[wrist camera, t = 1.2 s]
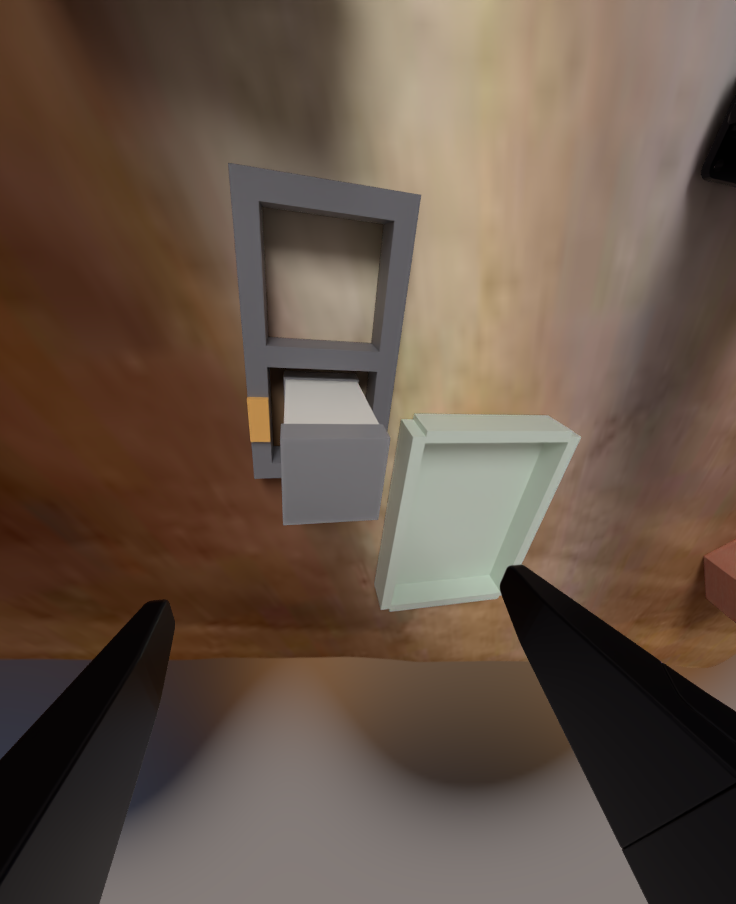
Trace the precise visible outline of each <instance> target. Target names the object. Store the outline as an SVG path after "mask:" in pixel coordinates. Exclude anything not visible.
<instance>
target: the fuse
mask: <svg viewBox="0 0 736 904" xmlns="http://www.w3.org/2000/svg"><path fill="white" fill-rule="evenodd" d="M389 445H390V436H389V435H388V433H387V431H386V429H385V427H384V425H383V424H379V423H378V421H377V419H376V417H375V415H374V413H373V411H372V410H371V408H370V406H369V404H368V402H367V400H366V398H365V396H364V394H363V392H362V390H361V388H360V386H359V379H358V377H357V375H356V373H335V372H309V371H284V424H281V434H280V447H281V476H282V505H283V525H296V524H313V523H330V522H347V521H364V520H378V518H379V511H380V504H381V498H382V491H383V484H384V478H385V471H386V464H387V458H388V451H389Z"/></svg>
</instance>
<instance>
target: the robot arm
mask: <svg viewBox="0 0 736 904" xmlns="http://www.w3.org/2000/svg"><path fill="white" fill-rule="evenodd" d="M714 166H715V167H714ZM701 177H702V179H704V180H707V181H711V182H716V183H720V184H725V185H729V186H734V187H736V95H735V97H734V100H733V102H732V104H731V106H730V108H729V110H728V112H727V115H726V117H725V119H724V121H723V123H722V125H721V128H720V130H719V132H718V134H717V136H716V138H715V141H714V143H713V145H712V147H711V149H710V151H709V154H708V156H707V158H706V160H705V162H704V164H703V167H702V170H701ZM500 592H501V595H502V597H503V600H504V603H505V605H506V608H507V610H508V613H509V615H510V618H511V621H512V623H513V626H514V628H515V631H516V634H517V636H518V639H519V641H520V643H521V646H522V648H523V650H524V652H525V654H526V656H527V658H528V660H529V662H530V664H531V666H532V668H533V670H534V672H535V674H536V676H537V678H538V680H539V683H540V685H541V687H542V689H543V691H544V693H545V695H546V697H547V699H548V701H549V703H550V705H551V707H552V709H553V711H554V713H555V715H556V717H557V719H558V721H559V723H560V725H561V727H562V729H563V731H564V733H565V735H566V737H567V739H568V741H569V743H570V745H571V747H572V749H573V751H574V753H575V755H576V758H577V759H578V762H579V764H580V766H581V767H582V770H583V772H584V774H585V775H586V778H587V780H588V782H589V784H590V786H591V788H592V790H593V792H594V794H595V796H596V798H597V800H598V802H599V804H600V806H601V808H602V810H603V812H604V814H605V816H606V818H607V820H608V822H609V824H610V826H611V828H612V831H613V832H614V835H615V837H616V839H617V841H618V843H619V845H620V847H621V848H622V851H623V853H624V855H625V857H626V859H627V861H628V863H629V865H630V867H631V870H632V872H633V874H634V876H635V878H636V880H637V882H638V884H639V886H640V888H641V890H642V892H643V894H644V896H645V898H646V900H647V902H648V904H736V712H735V711H734V710H733V709H731V708H730V707H728V706H727V705H725V704H723V703H722V702H720V701H719V700H717V699H716V698H714V697H712V696H711V695H710V694H708V693H706V692H705V691H704V690H702V689H701V688H699V687H698V686H696V685H695V684H693V683H692V682H690V681H689V680H687V679H686V678H684V677H683V676H682V675H680V674H679V673H677V672H676V671H674V670H673V669H671V668H670V667H669V666H667V665H666V664H664V663H661V661H660V660H658V659H657V658H656V657H654V656H653V655H651V654H650V653H648V652H647V651H646V650H644V649H643V648H641V647H640V646H638V645H637V644H636V643H634V642H633V641H631V640H630V639H628V638H627V637H626V636H624V635H623V634H621V633H620V632H618V631H617V630H616V629H614V628H613V627H611V626H610V625H608V624H607V623H606V622H604V621H603V620H601V619H600V618H598V617H597V616H596V615H594V614H593V613H591V612H590V611H588V610H587V609H586V608H584V607H583V606H581V605H580V604H578V603H577V602H575V601H574V600H573V599H571V598H570V597H568V596H567V595H565V594H564V593H563V592H561V591H560V590H558V589H557V588H555V587H554V586H553V585H551V584H550V583H548V582H547V581H545V580H544V579H543V578H541V577H540V576H538V575H537V574H535V573H534V572H533V571H531V570H530V569H528V568H527V567H525V566H524V565H510V566H508V567H507V569H506V571H505V573H504V575H503V578H502V580H501V582H500ZM174 630H175V620H174V616H173V613H172V610H171V607H170V603H169V601H168V600H165V599H163V600H153V601H149V602H147V603H146V604H144V605H143V607H142V608H141V609H140V610H139V611H138V612H137V613H136V614H135V615H134V616H133V617H132V618H131V619H130V621H129V622H128V623H127V624H126V625H125V626H124V627H123V628H122V629H121V630H120V631H119V632H118V633H117V635H116V636H115V637H114V638H113V639H112V640H111V641H110V642H109V643H108V644H107V645H106V646H105V647H104V649H103V650H102V651H101V652H100V653H99V654H98V655H97V656H96V657H95V658H94V659H93V660H92V661H91V663H90V664H89V665H88V666H87V667H86V668H85V669H84V670H83V671H82V672H81V673H80V674H79V675H78V677H77V678H76V679H75V680H74V681H73V682H72V683H71V684H70V685H69V686H68V687H67V688H66V690H65V691H64V692H63V693H62V694H61V695H60V696H59V697H58V698H57V699H56V700H55V702H54V703H53V704H52V705H51V706H50V707H49V708H48V709H47V710H46V711H45V712H44V714H42V715H41V717H40V718H39V719H38V720H37V721H36V722H35V723H34V724H33V725H32V726H31V727H30V728H29V729H28V731H27V732H26V733H25V734H24V735H23V736H22V737H21V738H20V739H19V740H18V741H17V743H16V744H14V746H13V747H12V748H11V749H10V750H9V751H8V752H7V753H6V754H5V755H4V756H3V757H2V758H1V760H0V904H99V903H100V899H101V896H102V893H103V890H104V887H105V883H106V880H107V877H108V873H109V870H110V867H111V863H112V860H113V857H114V854H115V850H116V847H117V844H118V840H119V837H120V834H121V831H122V827H123V824H124V821H125V817H126V814H127V811H128V807H129V804H130V801H131V798H132V794H133V791H134V788H135V785H136V781H137V778H138V775H139V771H140V768H141V765H142V761H143V758H144V755H145V751H146V748H147V745H148V742H149V738H150V735H151V732H152V729H153V725H154V721H155V719H156V715H157V712H158V708H159V705H160V701H161V696H162V691H163V686H164V681H165V676H166V671H167V666H168V661H169V656H170V651H171V645H172V640H173V635H174Z"/></svg>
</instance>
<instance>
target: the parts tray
mask: <svg viewBox="0 0 736 904" xmlns="http://www.w3.org/2000/svg"><path fill="white" fill-rule="evenodd" d="M580 438H581V436H579V435H578V434H576V433H574V432H573V431H572V430H570V429H569V428H567V427H566V426H564V425H563V424H561V423H559V422H558V421H556V420H555V419H553V418H551V417H550V416H548V415H484V414H414V416H413V419H401V423H400V429H399V435H398V442H397V448H396V454H395V460H394V466H393V472H392V478H391V484H390V491H389V497H388V503H387V509H386V515H385V521H384V527H383V534H382V540H381V546H380V552H379V558H378V564H377V570H376V576H375V583H374V585H375V589H376V593H377V597H378V601H379V605H380V609H381V610H385V609H389V612H393V611H401V610H409V609H417V608H425V607H433V606H441V605H450V604H458V603H466V602H474V601H482V600H490V599H498V597H499V596H500V595H501V592H500V582H501V580H502V578H503V575H504V573H505V571H506V569H507V567H508V566H510V565H521V564H522V562H523V560H524V558H525V556H526V553H527V551H528V549H529V547H530V545H531V543H532V541H533V539H534V536H535V534H536V532H537V530H538V528H539V526H540V524H541V521H542V519H543V517H544V515H545V513H546V511H547V509H548V507H549V504H550V502H551V500H552V498H553V496H554V494H555V492H556V490H557V487H558V485H559V483H560V481H561V479H562V477H563V475H564V472H565V470H566V468H567V466H568V464H569V462H570V460H571V458H572V455H573V453H574V451H575V449H576V447H577V445H578V443H579V440H580Z"/></svg>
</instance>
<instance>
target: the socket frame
mask: <svg viewBox="0 0 736 904" xmlns="http://www.w3.org/2000/svg"><path fill="white" fill-rule="evenodd" d="M228 167H229V179H230V191H231V203H232V215H233V227H234V239H235V251H236V263H237V275H238V287H239V299H240V311H241V323H242V335H243V347H244V359H245V371H246V383H247V395H248V398H247V405H248V417H249V428H250V440H251V443H252V455H253V467H254V479H258V478H282V476H281V447H280V446H273V427H272V405H271V384H270V367H277V368H301V369H325V370H349V371H369V372H368V381H367V391H366V400H367V402H368V404H369V406H370V408H371V410H372V411H373V413H374V415H375V417H376V419H377V421H378V423H379V424H383V425H384V427H385V429H386V431H387V430H388V423H389V416H390V409H391V402H392V395H393V388H394V381H395V374H396V367H397V360H398V353H399V346H400V339H401V332H402V325H403V318H404V311H405V304H406V297H407V290H408V283H409V276H410V269H411V262H412V255H413V248H414V241H415V234H416V227H417V220H418V213H419V206H420V199H421V195H418V194H412V193H406V192H400V191H394V190H388V189H382V188H376V187H370V186H364V185H358V184H352V183H346V182H340V181H334V180H328V179H322V178H316V177H310V176H304V175H298V174H292V173H286V172H280V171H274V170H269V169H263V168H257V167H251V166H245V165H239V164H233V163H228ZM262 207H267V208H274V209H281V210H288V211H295V212H302V213H309V214H316V215H323V216H330V217H337V218H344V219H351V220H358V221H365V222H372V223H379V224H384V225H383V235H382V244H381V254H380V264H379V274H378V284H377V293H376V303H375V313H374V323H373V333H372V342H371V343H360V342H344V341H327V340H311V339H294V338H278V337H268V319H267V298H266V277H265V255H264V234H263V212H262Z"/></svg>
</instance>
